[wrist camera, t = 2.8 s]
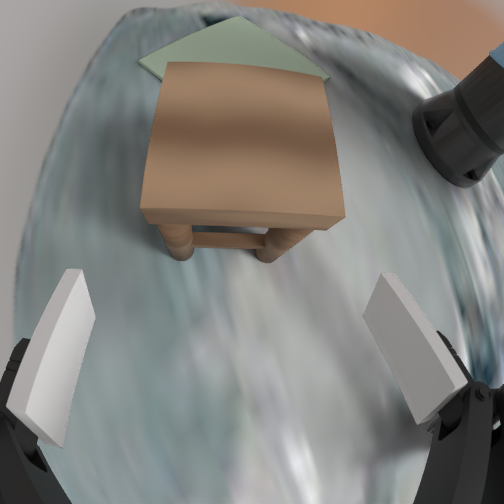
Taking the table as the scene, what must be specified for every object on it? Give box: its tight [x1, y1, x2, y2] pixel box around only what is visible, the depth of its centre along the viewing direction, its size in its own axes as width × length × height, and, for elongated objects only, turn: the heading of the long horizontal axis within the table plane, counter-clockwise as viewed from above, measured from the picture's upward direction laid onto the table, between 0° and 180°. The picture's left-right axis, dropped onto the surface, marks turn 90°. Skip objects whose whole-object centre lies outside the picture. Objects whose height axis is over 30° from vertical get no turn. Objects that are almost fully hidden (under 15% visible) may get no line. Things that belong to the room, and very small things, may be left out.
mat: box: [139, 16, 330, 82], centre depth 32 cm, size 18×18×1 cm
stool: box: [140, 62, 345, 263], centre depth 21 cm, size 10×10×14 cm
